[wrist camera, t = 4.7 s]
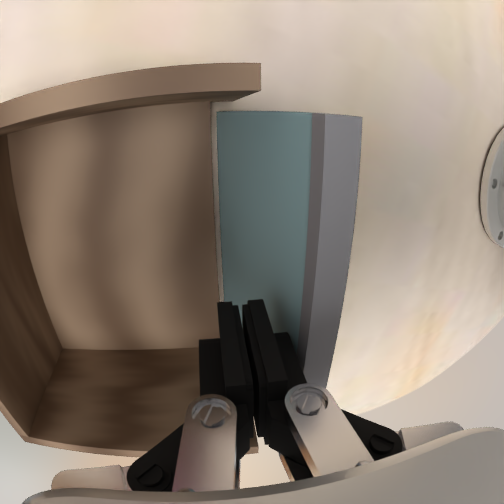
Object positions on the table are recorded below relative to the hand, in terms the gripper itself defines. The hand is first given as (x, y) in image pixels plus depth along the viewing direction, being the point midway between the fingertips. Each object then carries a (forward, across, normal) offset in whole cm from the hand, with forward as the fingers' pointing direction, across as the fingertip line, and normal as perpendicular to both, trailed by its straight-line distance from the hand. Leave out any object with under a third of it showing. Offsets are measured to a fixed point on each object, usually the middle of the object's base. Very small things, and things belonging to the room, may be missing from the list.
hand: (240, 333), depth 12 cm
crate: (+10, +7, 0) cm, 12 cm away
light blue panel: (+8, -1, 0) cm, 9 cm away
